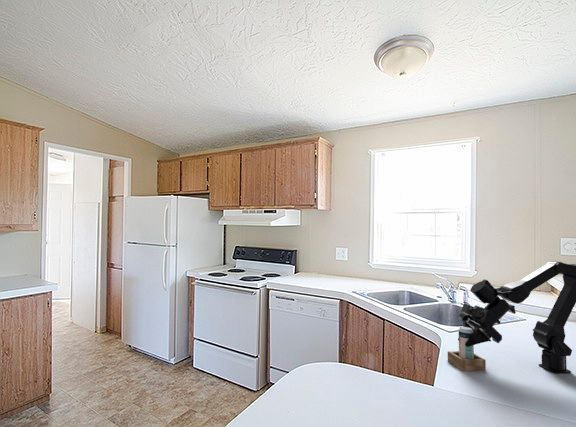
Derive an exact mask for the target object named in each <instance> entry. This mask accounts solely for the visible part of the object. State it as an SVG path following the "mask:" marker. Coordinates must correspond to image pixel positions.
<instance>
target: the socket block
mask: <svg viewBox="0 0 576 427" xmlns="http://www.w3.org/2000/svg"><path fill="white" fill-rule="evenodd" d="M447 362H448V363H450V364H451V365H453V366H454V367H456V368H457V369H459V370H461V371H462V372H470V371H471V372H472V371H473V372H474V371H475V372H476V371H487V370H486V367H487V366H486V364H487V363H486V362H487V361H486V359H485V358H483V357H481V356H479V355H478V354H476V353H474V359H462V358H460V357H459V350H453V351H452V350H451V351H447Z"/></svg>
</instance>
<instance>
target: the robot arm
mask: <svg viewBox="0 0 576 427" xmlns="http://www.w3.org/2000/svg"><path fill="white" fill-rule="evenodd" d="M558 275H562V280H563V286H562V288H561V290H560V292H559V294H558V296H557V298H556V300H555V302H554V305H553V306H552V309H551V311H550V312H549V315H548V317H547V319H545V320H544V321H540V320H537V321H536V323H535V326H534V328H533V329H532V331H533V333H532V337H533V340H534V341H535V342H536V344H537V346H538V348H541V349H542V350H541V363H539V364H538V366H539V367H541V368H542V369H543V368H544V369H545V370H548V371H550V372H552V373H555V374H563V373H566V374H568V373H572V371H571V370H570V369H567V357H570V356H571V355H572V352H573V350H572V349H571V347H569V345H568V344H566V343H565V339H566V331H565V325H566V324H567V321H568V320H569V318H570V315H571V314H572V312H573V309H574V308H575V306H576V263H564V262H562V261H556V260H555V261H554V260H550V261H547V262H546V263H545V264H544V265H543V266H541V267H539V268H538V269H536V270H534V271H533V272H531V273H530V274H527V275H526V276H525V277H523V278H522V279H519V280H516V281H510V282H507V283H505V284H503V285H501V286H500V287H497V288H496V287H494V286H493V285H492V284H491V282H490V281H489V280H487V279H483V280H482V281H478V282H476V283H474V284H473V285H472V286H471V287H470V292H471V293H472V294H473V295H474V296H475V297H476V298H477V299H478V300H479V301H480V302H481V303H482V304H487V305H486V306H484V307H481V306H479V305H474V306H472V305H470V304H468V303H465V302H464V303H463V305H462V308H461V309H460V311H461V313H460V314H459V315H458V318H459V319H460V320H461V322H462V325H463V326H462V327H469V328H472V330H473V334H472V335H471V337H470V338H469V339H468V340H467V342H466V343H465V345H466V346H467V347H469V346H472V345H474V346H475V345H479V344H482V343H486V342H492V341H493V342H495V343H496V344H499V343H501V342H502V340H503V335H502V334H501V333H500V332H499V331H498V330H497V329H496V328H495V327H494V326H495V325H496V324H498V325H500V324H501V323H502V322H501V319H502V318H503V317H504V316H505V315H506V314H507V313H508V312H509V313H511V314H514V315H515V314H516V309H515V308H516V307H515V305H513V304H516V305H517V304H521V303H523V302H525V300H527V299H528V298H529V296H530V295H531V292H533V290H535V289H537V288H538V287H540V286H542V285H543V284H545V283H547V282H549V281H550V280H551V279H553V278H555V277H557V276H558ZM509 302H510V303H513V304H510V303H509ZM491 338H492V340H491ZM457 341H458V342H459V337H458V338H457Z"/></svg>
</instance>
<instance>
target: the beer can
mask: <svg viewBox="0 0 576 427" xmlns="http://www.w3.org/2000/svg"><path fill="white" fill-rule="evenodd" d="M457 331H458V338H459V341H458V351H459V357H460V358H462V359H474V354H475V350H474V349H475V348H474V347H475V345H472V346H469V347H467V346H466V345H465V343H466V342H467V340H468V339H469V338H470V337H471V335H472V334H473V330H472V328H469V327H463V326H459V328H458V329H457Z"/></svg>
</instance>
